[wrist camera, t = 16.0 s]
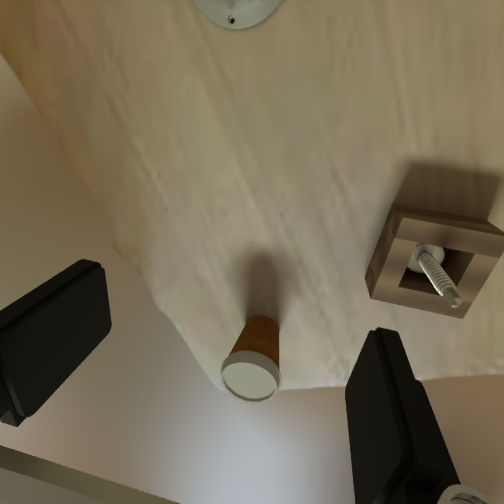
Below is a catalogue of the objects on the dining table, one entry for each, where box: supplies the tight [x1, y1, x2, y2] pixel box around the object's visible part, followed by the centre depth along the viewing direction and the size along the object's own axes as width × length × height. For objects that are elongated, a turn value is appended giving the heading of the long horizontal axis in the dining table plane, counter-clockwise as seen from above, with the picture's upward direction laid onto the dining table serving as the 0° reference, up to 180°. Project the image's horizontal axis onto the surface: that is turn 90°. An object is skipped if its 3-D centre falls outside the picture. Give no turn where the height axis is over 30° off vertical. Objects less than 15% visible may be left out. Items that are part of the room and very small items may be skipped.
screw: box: [407, 243, 462, 308], centre depth 35 cm, size 13×5×5 cm
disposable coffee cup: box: [220, 316, 282, 404], centre depth 48 cm, size 10×10×12 cm
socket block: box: [365, 204, 504, 319], centre depth 39 cm, size 12×12×6 cm
